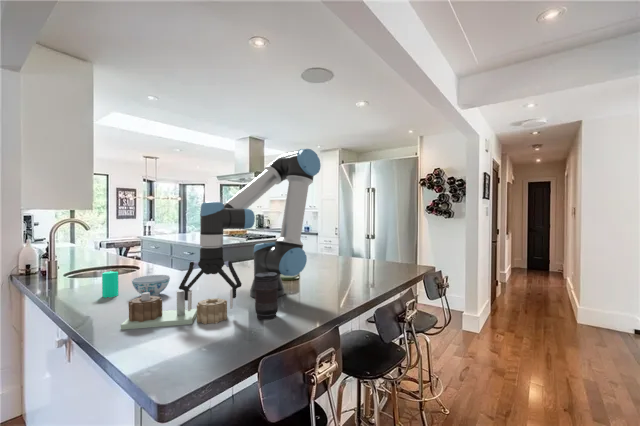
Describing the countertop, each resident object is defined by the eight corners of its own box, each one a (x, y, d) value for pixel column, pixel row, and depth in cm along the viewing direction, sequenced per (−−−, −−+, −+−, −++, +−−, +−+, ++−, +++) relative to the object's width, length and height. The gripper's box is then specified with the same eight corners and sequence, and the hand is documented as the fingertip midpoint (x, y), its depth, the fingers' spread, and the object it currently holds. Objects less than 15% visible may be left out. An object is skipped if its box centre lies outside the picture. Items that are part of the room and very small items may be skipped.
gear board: (197, 312, 116) (197, 286, 116) (191, 324, 104) (191, 294, 104) (134, 317, 111) (133, 290, 111) (120, 329, 99) (120, 299, 99)
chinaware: (147, 290, 149) (147, 274, 149) (177, 291, 147) (176, 275, 147) (123, 299, 134) (123, 281, 134) (155, 300, 132) (155, 282, 132)
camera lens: (252, 315, 113) (252, 273, 113) (274, 312, 116) (274, 271, 116) (257, 322, 105) (257, 277, 105) (280, 318, 108) (280, 275, 108)
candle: (112, 297, 137) (112, 270, 137) (99, 297, 137) (98, 270, 137) (121, 294, 143) (121, 267, 143) (108, 294, 143) (108, 267, 143)
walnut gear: (159, 310, 113) (159, 294, 113) (164, 318, 105) (164, 300, 105) (128, 316, 107) (127, 298, 107) (130, 324, 100) (130, 305, 99)
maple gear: (227, 313, 114) (227, 297, 114) (225, 322, 105) (225, 304, 105) (199, 315, 112) (199, 298, 112) (195, 325, 103) (194, 306, 103)
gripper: (248, 245, 115) (248, 303, 115) (175, 246, 109) (174, 307, 109) (248, 247, 108) (248, 309, 107) (169, 248, 102) (168, 314, 102)
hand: (210, 308), depth 108 cm, fingers open, 13 cm apart
